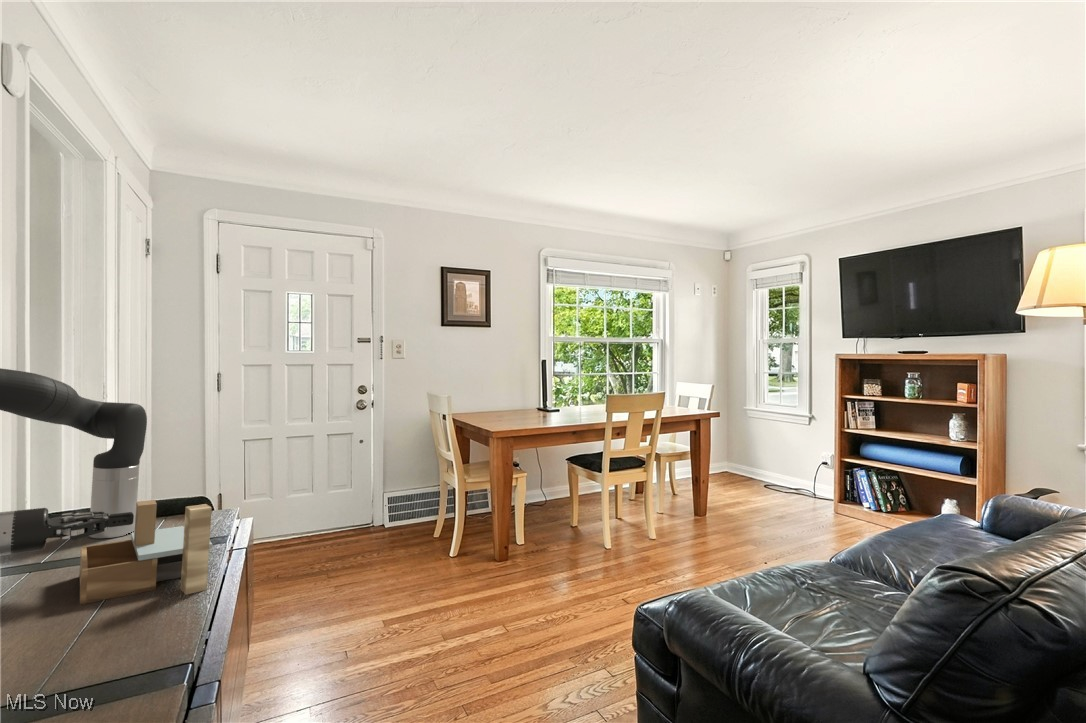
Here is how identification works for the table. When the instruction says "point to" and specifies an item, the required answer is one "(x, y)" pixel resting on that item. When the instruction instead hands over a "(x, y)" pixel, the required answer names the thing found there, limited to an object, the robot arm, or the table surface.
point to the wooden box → (121, 571)
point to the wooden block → (196, 548)
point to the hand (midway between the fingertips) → (133, 518)
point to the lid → (155, 534)
